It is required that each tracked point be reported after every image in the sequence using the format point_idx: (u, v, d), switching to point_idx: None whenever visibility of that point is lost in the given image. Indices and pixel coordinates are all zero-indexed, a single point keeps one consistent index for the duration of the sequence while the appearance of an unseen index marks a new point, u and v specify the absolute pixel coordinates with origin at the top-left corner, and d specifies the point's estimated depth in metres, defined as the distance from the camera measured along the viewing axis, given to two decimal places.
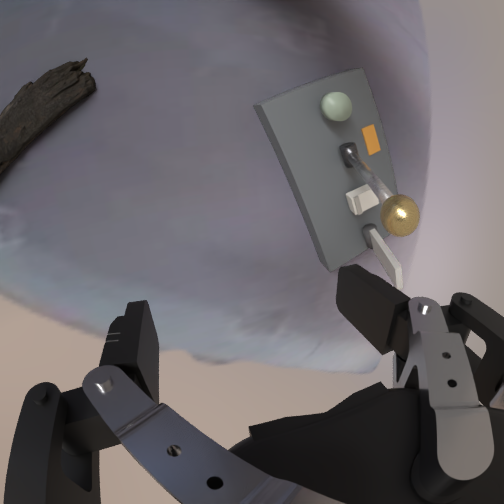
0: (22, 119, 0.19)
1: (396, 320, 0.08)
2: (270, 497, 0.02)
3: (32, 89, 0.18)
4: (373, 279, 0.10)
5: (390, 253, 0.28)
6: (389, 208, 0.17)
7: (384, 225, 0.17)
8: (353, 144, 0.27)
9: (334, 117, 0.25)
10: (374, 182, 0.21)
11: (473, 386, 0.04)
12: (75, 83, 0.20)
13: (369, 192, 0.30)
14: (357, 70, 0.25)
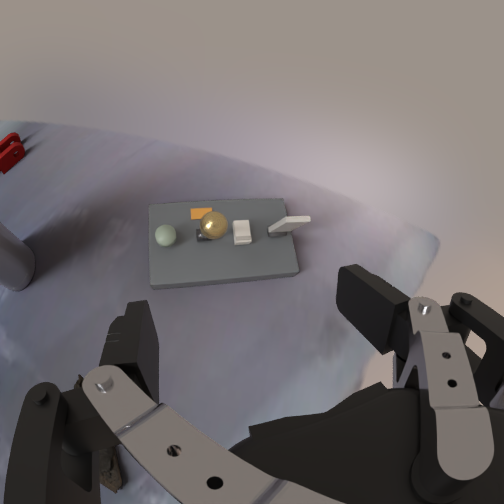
0: None
1: (396, 320, 0.08)
2: (270, 497, 0.02)
3: None
4: (373, 279, 0.10)
5: (279, 222, 0.39)
6: (203, 233, 0.28)
7: (215, 238, 0.29)
8: (196, 230, 0.42)
9: (171, 240, 0.40)
10: None
11: (473, 386, 0.04)
12: None
13: (236, 226, 0.43)
14: (149, 209, 0.44)
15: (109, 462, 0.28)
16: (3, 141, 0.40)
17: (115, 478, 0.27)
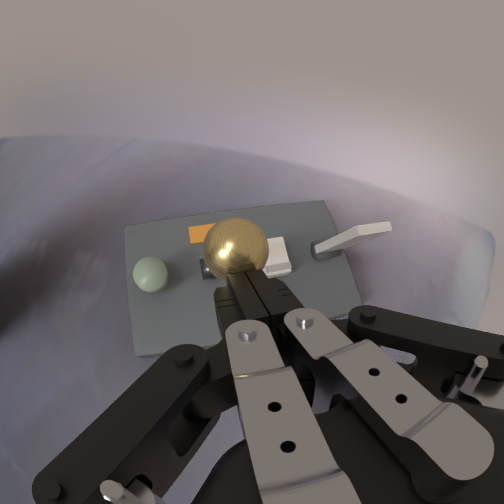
0: None
1: (277, 331, 0.08)
2: (270, 497, 0.02)
3: None
4: (266, 286, 0.10)
5: (341, 235, 0.22)
6: (214, 272, 0.12)
7: None
8: (200, 262, 0.26)
9: (160, 282, 0.23)
10: None
11: (422, 389, 0.04)
12: None
13: None
14: (125, 233, 0.28)
15: None
16: None
17: None
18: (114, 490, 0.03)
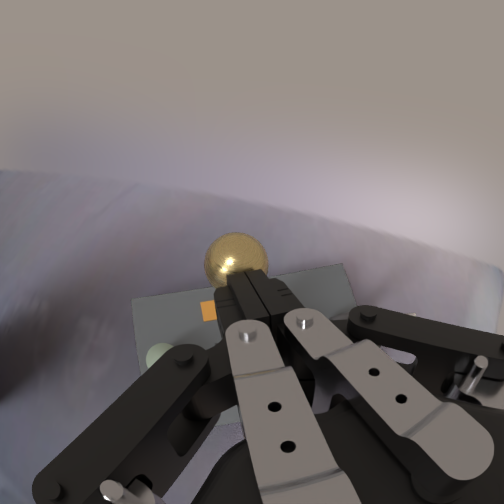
0: None
1: (277, 332, 0.08)
2: (270, 497, 0.02)
3: None
4: (266, 286, 0.10)
5: None
6: (215, 278, 0.12)
7: None
8: None
9: None
10: None
11: (422, 389, 0.04)
12: None
13: None
14: (132, 307, 0.26)
15: None
16: None
17: None
18: (114, 490, 0.03)
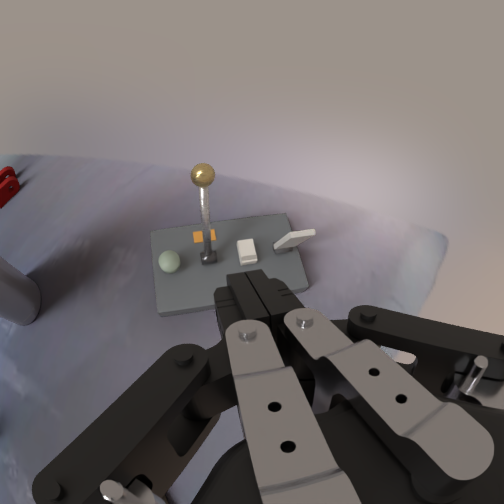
0: None
1: (277, 332, 0.08)
2: (270, 497, 0.02)
3: None
4: (266, 286, 0.10)
5: (284, 238, 0.38)
6: (193, 176, 0.31)
7: (204, 177, 0.31)
8: None
9: (175, 266, 0.39)
10: (200, 209, 0.35)
11: (422, 389, 0.04)
12: None
13: (240, 246, 0.42)
14: (151, 235, 0.44)
15: None
16: None
17: None
18: (114, 490, 0.03)
